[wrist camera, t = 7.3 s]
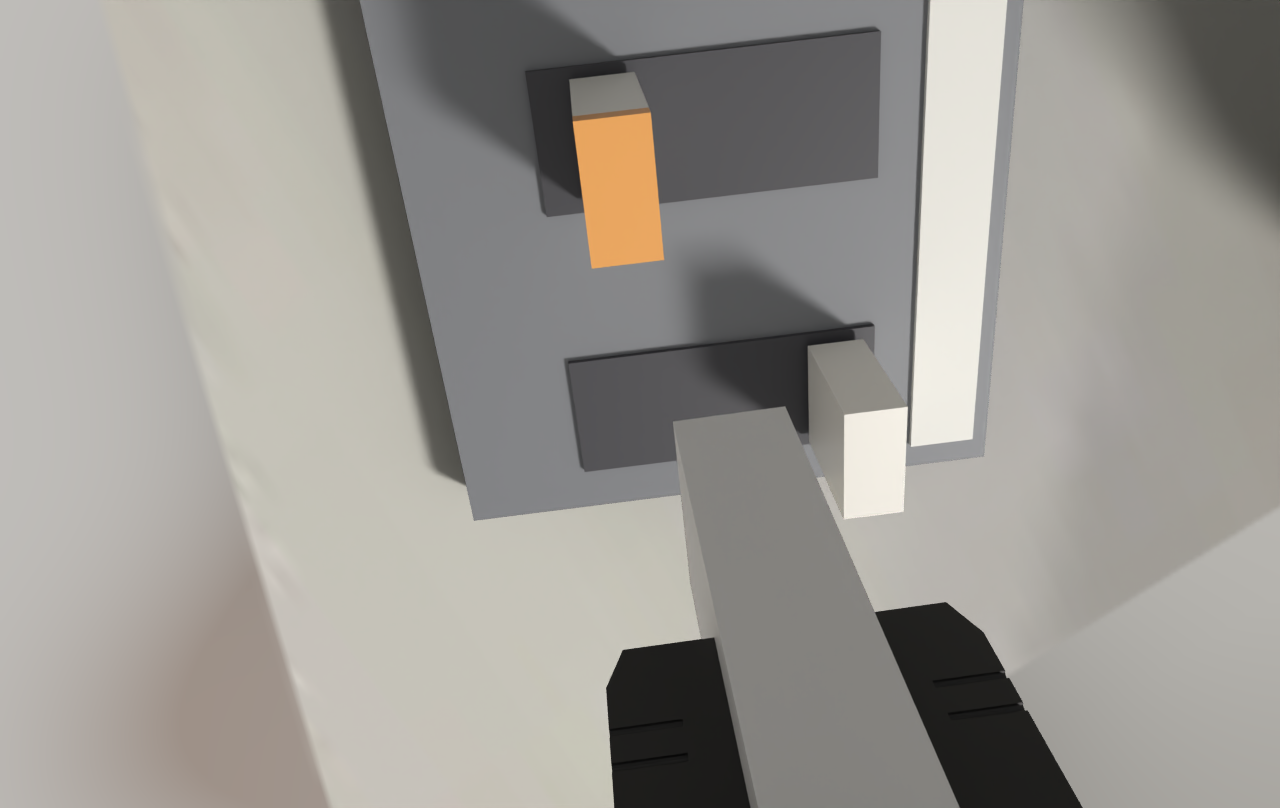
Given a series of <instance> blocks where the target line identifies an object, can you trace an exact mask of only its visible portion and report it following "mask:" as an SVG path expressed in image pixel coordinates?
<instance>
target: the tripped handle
mask: <svg viewBox="0 0 1280 808" xmlns="http://www.w3.org/2000/svg"><path fill="white" fill-rule="evenodd" d="M569 82H570V94H571V106H572V118H573V127H574V135H575V143H576V150H577V158H578V166H579V174H580V181H581V189H582V197H583V205H584V212H585V220H586V228H587V236H588V244H589V251H590V259H591V267H592V269H594V268H602V267H610V266H619V265H627V264H635V263H644V262H652V261H660V260H664V253H663V242H662V231H661V220H660V209H659V198H658V187H657V175H656V164H655V153H654V142H653V131H652V120H651V112H650V109H649V107H648V104H647V102H646V99H645V97H644V94H643V92H642V89H641V87H640V84H639V82H638V79H637V77H636V74H635V72H628V73H620V74H611V75H603V76H594V77H585V78H577V79H569Z"/></svg>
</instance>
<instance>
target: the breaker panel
mask: <svg viewBox="0 0 1280 808" xmlns="http://www.w3.org/2000/svg"><path fill="white" fill-rule="evenodd" d="M1023 1H1024V0H360V5H361V9H362V14H363V18H364V23H365V27H366V32H367V37H368V41H369V46H370V50H371V55H372V59H373V64H374V68H375V73H376V77H377V82H378V86H379V91H380V96H381V100H382V105H383V109H384V114H385V118H386V123H387V127H388V132H389V136H390V141H391V146H392V150H393V155H394V159H395V164H396V168H397V173H398V177H399V182H400V186H401V191H402V196H403V200H404V205H405V209H406V214H407V218H408V223H409V227H410V232H411V236H412V241H413V246H414V250H415V255H416V259H417V264H418V268H419V273H420V277H421V282H422V286H423V291H424V296H425V300H426V305H427V309H428V314H429V318H430V323H431V327H432V332H433V336H434V341H435V346H436V350H437V355H438V359H439V364H440V368H441V373H442V377H443V382H444V386H445V391H446V396H447V400H448V405H449V409H450V414H451V418H452V423H453V427H454V432H455V436H456V441H457V445H458V450H459V455H460V459H461V464H462V468H463V473H464V477H465V482H466V486H467V491H468V495H469V500H470V505H471V509H472V514H473V518H474V521H475V520H483V519H491V518H499V517H507V516H515V515H523V514H531V513H539V512H547V511H555V510H563V509H571V508H579V507H586V506H594V505H602V504H610V503H618V502H626V501H634V500H642V499H650V498H658V497H666V496H674V495H681V492H680V482H679V473H678V464H677V454H676V445H675V436H674V427H673V421H681V420H688V419H695V418H703V417H710V416H718V415H725V414H732V413H740V412H747V411H755V410H762V409H769V408H777V407H784V406H785V407H786V409H787V412H788V414H789V416H790V419H791V421H792V423H793V425H794V428H795V430H796V432H797V435H798V437H799V439H800V442H801V444H802V446H803V448H804V451H805V453H806V455H807V458H808V460H809V462H810V465H811V467H812V469H813V471H814V474H815V476H816V478H817V477H825V476H824V474H823V472H822V469H821V467H820V465H819V463H818V460H817V458H816V456H815V454H814V451H813V449H812V447H811V445H810V443H809V402H808V346H811V345H819V344H827V343H835V342H843V341H851V340H859V339H864V341H865V342H866V344H867V345H868V347H869V349H870V350H871V352H872V353H873V355H874V356H875V358H876V359H877V361H878V362H879V364H880V365H881V367H882V368H883V370H884V371H885V373H886V374H887V376H888V377H889V379H890V381H891V382H892V384H893V385H894V387H895V388H896V390H897V391H898V393H899V394H900V396H901V397H902V399H903V400H904V402H905V403H906V405H907V406H908V414H907V438H906V463H905V466H912V465H920V464H928V463H936V462H944V461H952V460H960V459H968V458H976V457H984V451H985V439H986V428H987V416H988V405H989V393H990V381H991V370H992V358H993V347H994V335H995V324H996V312H997V301H998V289H999V278H1000V266H1001V255H1002V243H1003V232H1004V220H1005V209H1006V197H1007V186H1008V174H1009V163H1010V151H1011V140H1012V128H1013V117H1014V105H1015V93H1016V82H1017V70H1018V59H1019V47H1020V36H1021V24H1022V13H1023ZM628 72H635V74H636V77H637V79H638V82H639V84H640V87H641V89H642V92H643V94H644V97H645V99H646V102H647V104H648V107H649V109H650V112H651V120H652V131H653V142H654V153H655V164H656V175H657V187H658V198H659V209H660V220H661V231H662V242H663V253H664V260H660V261H652V262H644V263H635V264H627V265H619V266H610V267H602V268H594V269H592V267H591V259H590V251H589V244H588V236H587V228H586V220H585V212H584V205H583V197H582V189H581V181H580V174H579V166H578V158H577V150H576V143H575V135H574V127H573V118H572V106H571V94H570V82H569V79H577V78H585V77H594V76H603V75H611V74H620V73H628Z"/></svg>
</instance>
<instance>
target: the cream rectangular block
mask: <svg viewBox="0 0 1280 808" xmlns="http://www.w3.org/2000/svg"><path fill="white" fill-rule="evenodd" d="M808 402H809V443H810V445H811V447H812V449H813V451H814V454H815V456H816V458H817V460H818V463H819V465H820V467H821V469H822V472H823V474H824V476H825V478H826V481H827V483H828V485H829V487H830V490H831V492H832V494H833V496H834V499H835V501H836V503H837V505H838V508H839V510H840V512H841V514H842V516H843V519H850V518H858V517H866V516H874V515H882V514H890V513H898V512H904V487H905V463H906V438H907V414H908V406H907V405H906V403H905V402H904V400H903V399H902V397H901V396H900V394H899V393H898V391H897V390H896V388H895V387H894V385H893V384H892V382H891V381H890V379H889V377H888V376H887V374H886V373H885V371H884V370H883V368H882V367H881V365H880V364H879V362H878V361H877V359H876V358H875V356H874V355H873V353H872V352H871V350H870V349H869V347H868V345H867V344H866V342H865V341H864V339H859V340H851V341H843V342H835V343H827V344H819V345H811V346H808Z"/></svg>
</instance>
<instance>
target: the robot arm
mask: <svg viewBox="0 0 1280 808" xmlns="http://www.w3.org/2000/svg"><path fill="white" fill-rule="evenodd" d="M673 427H674V436H675V445H676V454H677V464H678V473H679V482H680V492H681V501H682V510H683V520H684V529H685V538H686V548H687V557H688V566H689V576H690V584H691V589H692V594H693V599H694V605H695V610H696V615H697V620H698V625H699V630H700V635H701V639H699V640H692V641H684V642H677V643H670V644H663V645H656V646H648V647H641V648H634V649H627V650H623V651H622V653H621V656H620V658H619V660H618V662H617V665H616V667H615V669H614V672H613V674H612V676H611V678H610V681H609V683H608V685H607V687H606V691H607V706H608V721H609V732H610V750H611V764H612V779H613V794H614V808H1082V806H1081V804H1080V802H1079V801H1078V799H1077V797H1076V795H1075V794H1074V792H1073V790H1072V788H1071V786H1070V785H1069V783H1068V781H1067V780H1066V778H1065V776H1064V774H1063V772H1062V771H1061V769H1060V767H1059V765H1058V763H1057V762H1056V760H1055V758H1054V756H1053V755H1052V753H1051V751H1050V749H1049V748H1048V746H1047V744H1046V742H1045V740H1044V739H1043V737H1042V735H1041V733H1040V732H1039V730H1038V728H1037V727H1036V725H1035V723H1034V721H1033V719H1032V717H1031V716H1030V714H1029V712H1028V711H1025V710H1024V707H1023V702H1022V700H1021V698H1020V696H1019V694H1018V693H1017V691H1016V689H1015V687H1014V686H1013V684H1012V682H1011V680H1010V679H1009V678H1006V675H1005V670H1004V668H1003V666H1002V664H1001V663H1000V661H999V659H998V657H997V656H996V654H995V652H994V650H993V648H992V647H991V645H990V643H989V641H988V640H987V638H986V636H985V634H984V633H983V632H982V631H981V630H980V629H979V628H977V627H976V626H975V625H974V624H972V623H971V622H970V621H969V620H967V619H966V618H965V617H964V616H962V615H961V614H960V613H959V612H958V611H956V610H955V609H954V608H953V607H951V606H950V605H949V604H948V603H946V602H944V603H937V604H930V605H922V606H915V607H908V608H901V609H894V610H886V611H879V612H874V610H873V607H872V605H871V603H870V600H869V598H868V596H867V593H866V591H865V589H864V586H863V584H862V582H861V580H860V577H859V575H858V573H857V570H856V568H855V566H854V563H853V561H852V559H851V557H850V554H849V552H848V550H847V547H846V545H845V543H844V540H843V538H842V536H841V534H840V531H839V529H838V527H837V524H836V522H835V520H834V517H833V515H832V513H831V511H830V508H829V506H828V504H827V501H826V499H825V497H824V494H823V492H822V490H821V488H820V485H819V483H818V481H817V478H816V476H815V474H814V471H813V469H812V467H811V465H810V462H809V460H808V458H807V455H806V453H805V451H804V448H803V446H802V444H801V442H800V439H799V437H798V435H797V432H796V430H795V428H794V425H793V423H792V421H791V419H790V416H789V414H788V412H787V409H786V407H785V406H784V407H777V408H769V409H762V410H755V411H747V412H740V413H732V414H725V415H718V416H710V417H703V418H695V419H688V420H681V421H673Z"/></svg>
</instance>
